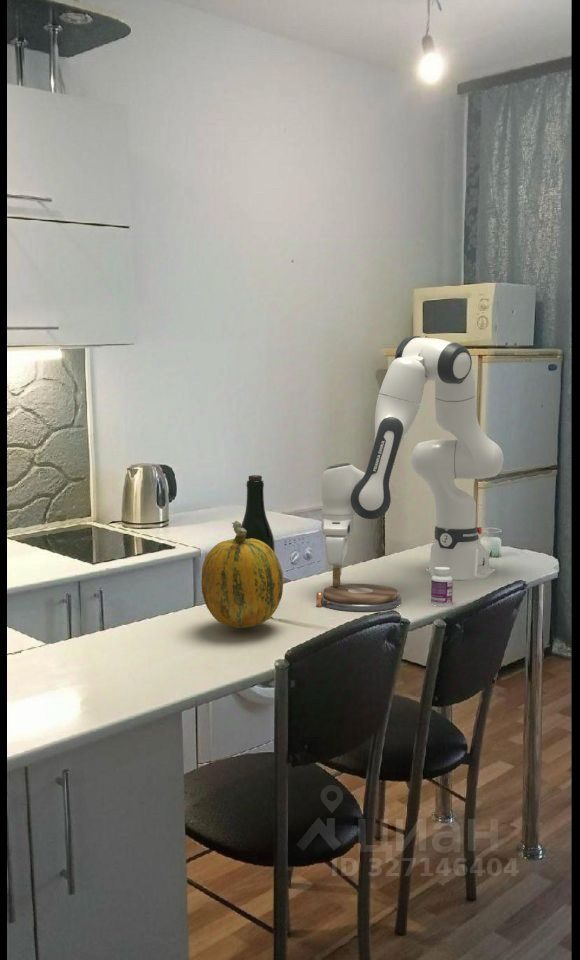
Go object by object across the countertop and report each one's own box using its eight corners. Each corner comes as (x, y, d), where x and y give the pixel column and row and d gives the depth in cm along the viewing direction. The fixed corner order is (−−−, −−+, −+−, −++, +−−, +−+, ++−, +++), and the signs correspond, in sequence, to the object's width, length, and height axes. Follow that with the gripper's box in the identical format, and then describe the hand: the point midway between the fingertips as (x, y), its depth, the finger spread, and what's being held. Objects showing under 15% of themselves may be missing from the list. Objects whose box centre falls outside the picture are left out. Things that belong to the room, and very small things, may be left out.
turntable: (350, 586, 251) (350, 562, 251) (411, 595, 240) (411, 570, 239) (308, 598, 236) (308, 572, 236) (371, 608, 225) (371, 581, 224)
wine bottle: (255, 611, 229) (255, 477, 226) (226, 604, 236) (225, 475, 233) (284, 604, 237) (284, 475, 234) (255, 598, 244) (254, 473, 241)
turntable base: (349, 591, 253) (349, 578, 253) (416, 601, 240) (416, 587, 240) (302, 604, 236) (302, 590, 236) (372, 616, 223) (372, 601, 223)
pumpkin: (226, 638, 202) (225, 524, 200) (187, 621, 218) (186, 515, 216) (298, 627, 212) (298, 518, 210) (256, 611, 228) (256, 510, 226)
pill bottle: (452, 608, 232) (452, 570, 231) (430, 607, 233) (430, 569, 232) (452, 603, 237) (453, 566, 236) (431, 602, 238) (432, 565, 237)
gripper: (329, 519, 257) (329, 569, 258) (322, 529, 236) (321, 583, 238) (352, 520, 256) (352, 569, 257) (346, 529, 236) (346, 583, 237)
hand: (337, 576), depth 247 cm, fingers closed
